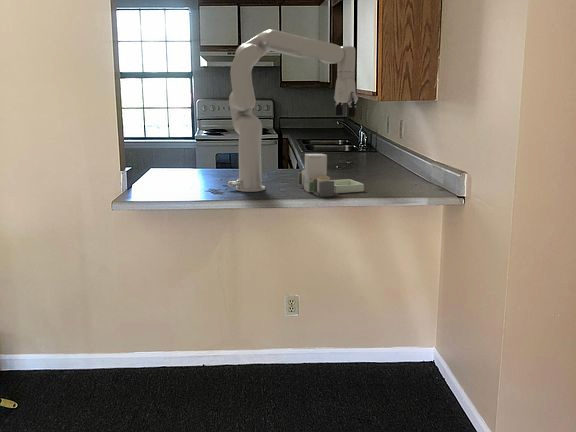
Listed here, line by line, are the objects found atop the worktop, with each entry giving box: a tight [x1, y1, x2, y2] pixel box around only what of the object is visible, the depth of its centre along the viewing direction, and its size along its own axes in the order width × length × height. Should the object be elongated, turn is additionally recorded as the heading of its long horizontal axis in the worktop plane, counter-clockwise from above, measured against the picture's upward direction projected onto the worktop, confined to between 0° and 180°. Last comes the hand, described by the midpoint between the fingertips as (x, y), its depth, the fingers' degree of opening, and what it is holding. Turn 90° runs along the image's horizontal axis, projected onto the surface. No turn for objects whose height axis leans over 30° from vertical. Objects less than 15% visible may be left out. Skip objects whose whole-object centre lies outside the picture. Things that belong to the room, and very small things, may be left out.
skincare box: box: [303, 153, 328, 193], centre depth 258 cm, size 8×7×16 cm
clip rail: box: [297, 172, 335, 198], centre depth 259 cm, size 7×26×6 cm, turn 19°
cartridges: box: [301, 169, 331, 193], centre depth 259 cm, size 4×22×7 cm, turn 19°
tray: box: [330, 178, 365, 194], centre depth 262 cm, size 13×14×3 cm
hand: (345, 115), depth 269 cm, fingers open, 9 cm apart
